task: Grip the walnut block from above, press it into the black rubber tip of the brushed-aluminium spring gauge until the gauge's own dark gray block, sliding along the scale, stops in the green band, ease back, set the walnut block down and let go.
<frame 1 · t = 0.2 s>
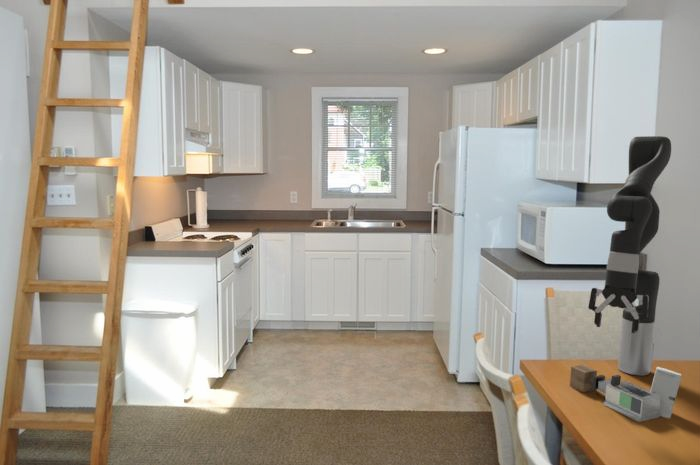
hand: (615, 329, 146), 22 cm above the table, tool pointing down, fingers open, 8 cm apart
walnut block: (582, 387, 162), on the table
dark gray block: (615, 380, 148), point 8 cm above the table, slide at 0.0 cm
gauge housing: (629, 410, 148), on the table
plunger: (609, 385, 152), point 5 cm above the table, slide at 0.0 cm
skincare box: (658, 414, 146), on the table, touching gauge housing
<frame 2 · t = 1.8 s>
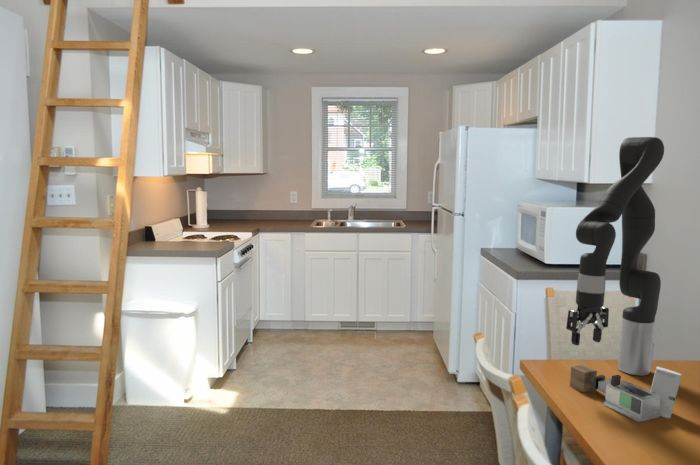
hand: (586, 343, 160), 14 cm above the table, tool pointing down, fingers open, 8 cm apart
nothing on the table moved.
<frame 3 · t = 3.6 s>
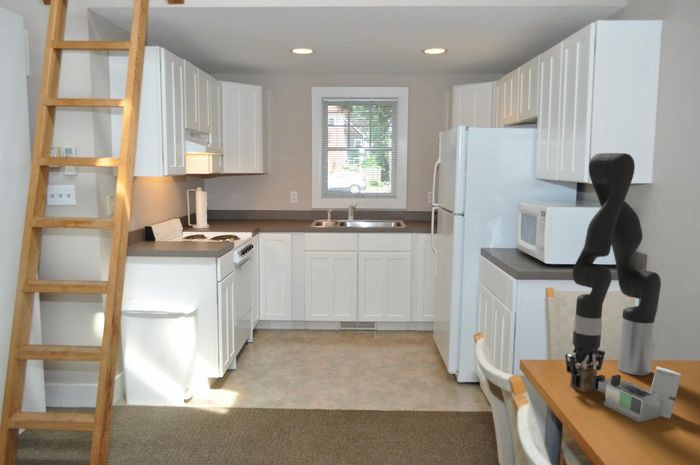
hand: (582, 385, 162), 1 cm above the table, tool pointing down, fingers closed on walnut block, 5 cm apart
walnut block: (582, 387, 162), on the table, touching gripper
everything else where it was.
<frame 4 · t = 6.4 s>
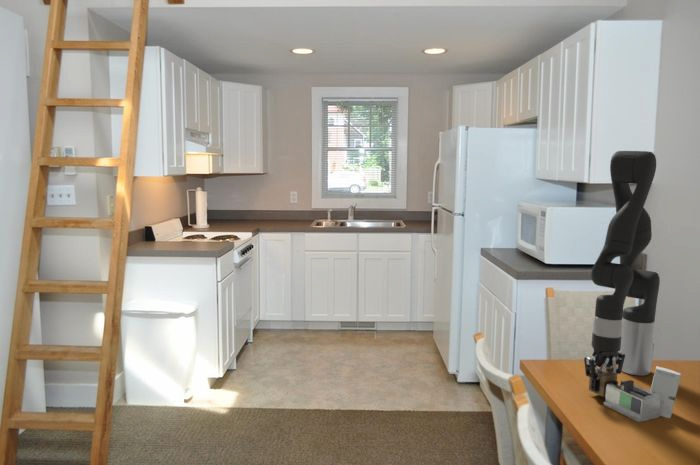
hand: (602, 389, 156), 2 cm above the table, tool pointing down, fingers closed on walnut block, 5 cm apart
walnut block: (602, 392, 156), point 1 cm above the table, touching gripper, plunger
dark gray block: (628, 385, 144), point 8 cm above the table, slide at 4.0 cm, touching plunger
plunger: (622, 391, 148), point 5 cm above the table, slide at 4.3 cm, touching dark gray block, walnut block
everything else where it was.
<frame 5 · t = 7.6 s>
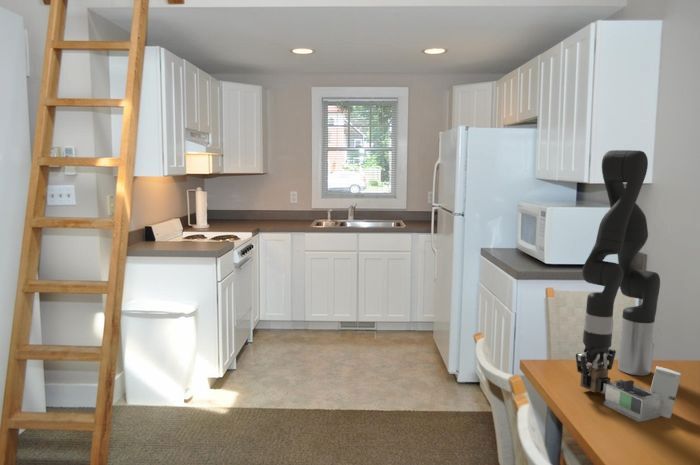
hand: (593, 385, 159), 2 cm above the table, tool pointing down, fingers closed on walnut block, 5 cm apart
walnut block: (593, 387, 159), point 1 cm above the table, touching gripper
dark gray block: (628, 386, 144), point 8 cm above the table, slide at 4.0 cm
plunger: (614, 387, 151), point 5 cm above the table, slide at 1.7 cm
everything else where it was.
when the fingers open (2 cm above the table, at t = 8.9 s): walnut block stays where it is, on the table.
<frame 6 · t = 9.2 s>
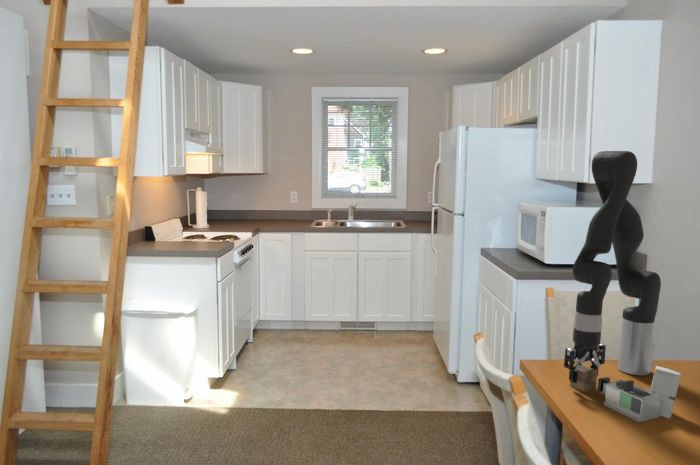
hand: (583, 380, 162), 2 cm above the table, tool pointing down, fingers open, 8 cm apart
walnut block: (582, 387, 162), on the table
everything else where it was.
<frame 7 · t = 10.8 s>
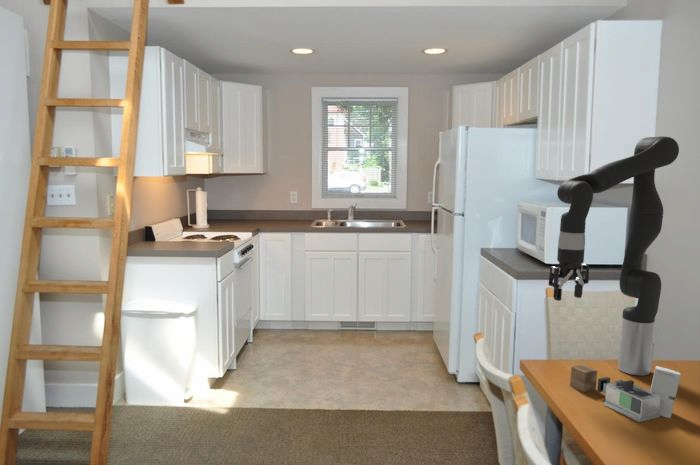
hand: (567, 298, 167), 25 cm above the table, tool pointing down, fingers open, 8 cm apart
nothing on the table moved.
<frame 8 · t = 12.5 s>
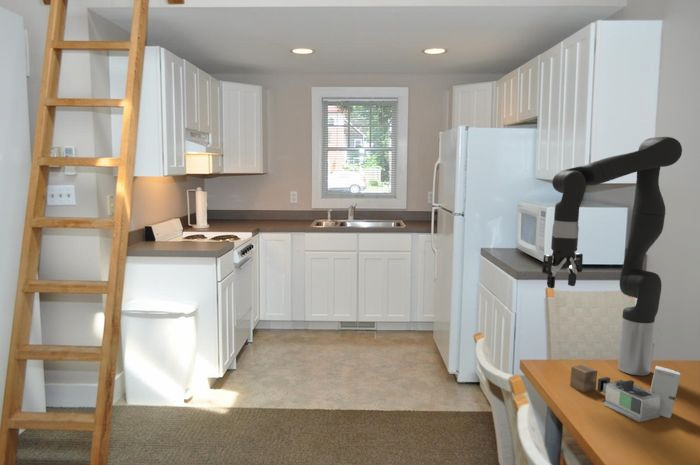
hand: (561, 286, 170), 28 cm above the table, tool pointing down, fingers open, 8 cm apart
nothing on the table moved.
at the end: dark gray block slide at 4.0 cm; the gripper is holding nothing; walnut block inside the target area (0.8 cm from its centre), on the table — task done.
